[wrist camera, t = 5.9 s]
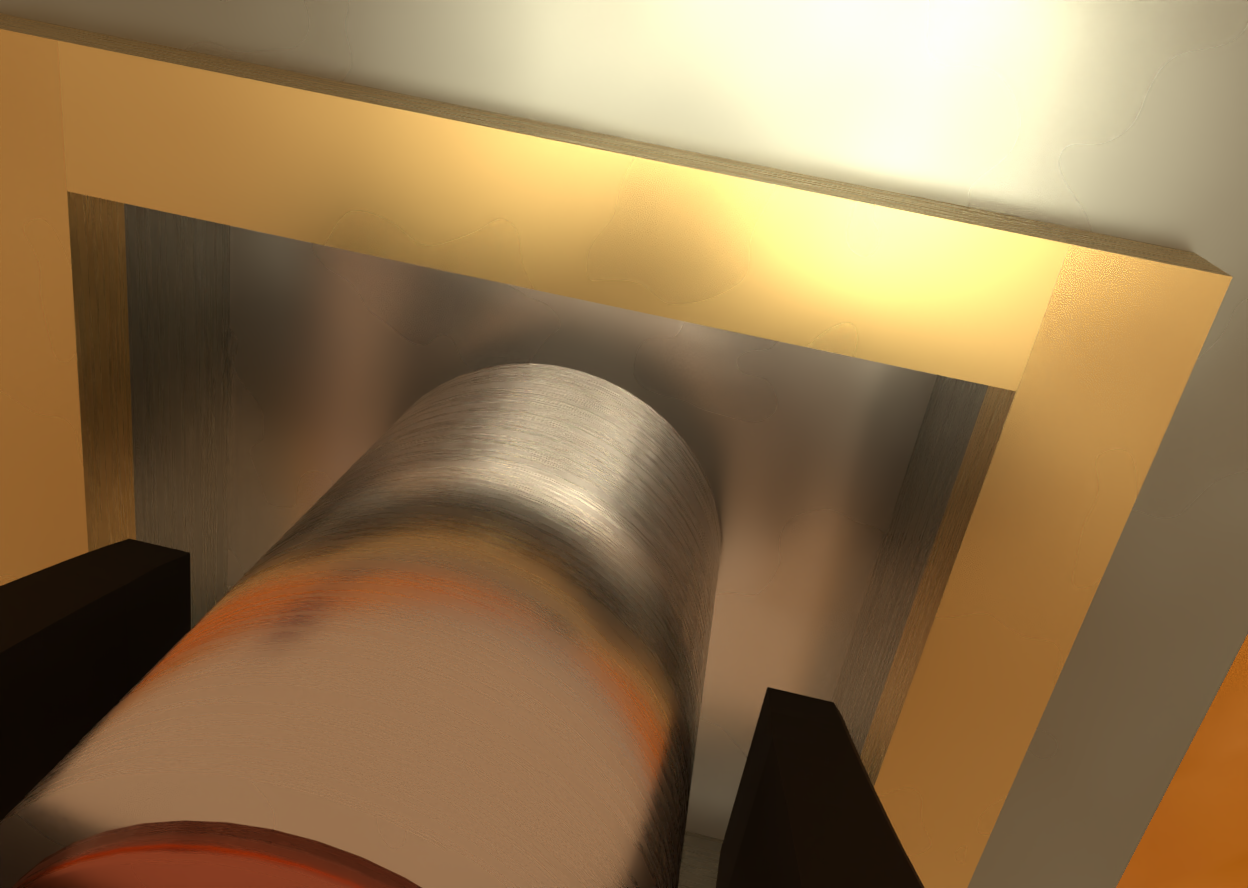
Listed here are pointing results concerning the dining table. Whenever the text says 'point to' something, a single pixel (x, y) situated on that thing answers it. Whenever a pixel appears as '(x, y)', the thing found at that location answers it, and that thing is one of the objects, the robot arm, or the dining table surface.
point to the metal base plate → (694, 338)
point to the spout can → (425, 672)
